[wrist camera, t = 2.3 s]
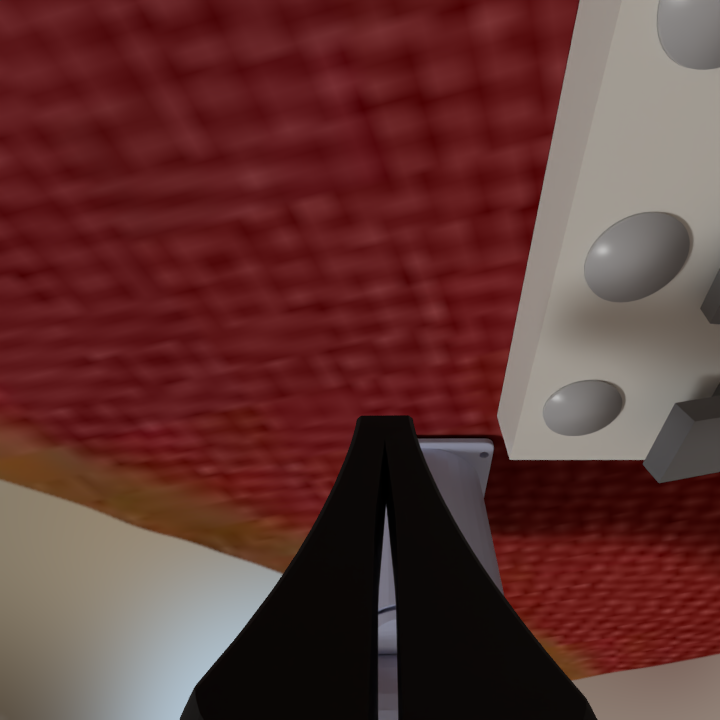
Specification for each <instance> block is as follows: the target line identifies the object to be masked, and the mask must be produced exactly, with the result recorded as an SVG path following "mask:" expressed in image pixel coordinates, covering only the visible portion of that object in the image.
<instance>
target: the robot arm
mask: <svg viewBox="0 0 720 720" xmlns="http://www.w3.org/2000/svg"><path fill="white" fill-rule="evenodd" d="M493 451H494V445H493V442H492V441H491V440H490V439H486V438H443V439H418V438H417V435H416V432H415V428H414V424H413V419H412V418H411V417H410V416H360V417H359V418H358V419H357V422H356V427H355V431H354V435H353V438H352V441H351V444H350V447H349V450H348V453H347V455H346V458H345V461H344V463H343V465H342V468H341V470H340V472H339V475H338V477H337V479H336V482H335V484H334V486H333V488H332V490H331V492H330V494H329V496H328V498H327V500H326V502H325V504H324V506H323V508H322V510H321V512H320V514H319V516H318V518H317V520H316V522H315V523H314V525H313V527H312V529H311V530H310V532H309V534H308V536H307V537H306V539H305V541H304V542H303V544H302V546H301V547H300V549H299V551H298V552H297V554H296V555H295V557H294V558H293V560H292V561H291V563H290V564H289V566H288V568H287V569H286V571H285V572H284V574H283V575H282V577H281V578H280V580H279V581H278V582H277V584H276V586H275V587H274V588H273V590H272V591H271V592H270V594H269V595H268V597H267V598H266V599H265V601H264V602H263V603H262V604H261V606H260V607H259V609H258V610H257V611H256V612H255V614H254V615H253V616H252V618H251V619H250V620H249V622H248V623H247V625H246V626H245V627H244V628H243V630H242V631H241V632H240V633H239V635H238V636H237V637H236V638H235V640H234V641H233V642H232V643H231V644H230V646H229V647H228V648H227V649H226V650H225V651H224V653H223V654H222V655H221V656H220V657H219V659H218V660H217V661H216V662H215V663H214V665H213V666H212V667H211V668H210V669H209V670H208V672H207V673H206V674H205V675H204V676H203V677H202V679H201V680H200V681H199V682H198V683H197V685H196V686H195V688H194V690H193V692H192V694H191V696H190V698H189V700H188V702H187V704H186V706H185V708H184V711H183V713H182V715H181V717H180V720H597V718H596V716H595V714H594V712H593V710H592V708H591V706H590V705H589V703H588V701H587V699H586V698H585V696H584V695H583V694H582V693H581V692H580V691H579V690H578V688H577V687H576V686H575V685H574V684H573V682H572V681H571V680H570V679H569V678H568V677H567V675H566V674H565V673H564V672H563V671H562V670H561V668H560V667H559V666H558V665H557V664H556V662H555V661H554V660H553V659H552V658H551V656H550V655H549V654H548V653H547V652H546V650H545V649H544V648H543V647H542V645H541V644H540V643H539V642H538V640H537V639H536V638H535V637H534V635H533V634H532V633H531V632H530V630H529V629H528V628H527V627H526V625H525V624H524V623H523V622H522V620H521V619H520V617H519V616H518V615H517V613H516V612H515V611H514V609H513V608H512V607H511V605H510V604H509V602H508V601H507V600H506V598H505V597H504V593H503V588H502V583H501V579H500V574H499V569H498V564H497V560H496V555H495V550H494V545H493V541H492V536H491V531H490V526H489V522H488V517H487V512H486V507H485V503H484V495H485V490H486V485H487V480H488V476H489V471H490V466H491V461H492V456H493ZM482 452H484V453H482Z"/></svg>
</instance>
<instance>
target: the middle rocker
mask: <svg viewBox="0 0 720 720" xmlns="http://www.w3.org/2000/svg"><path fill="white" fill-rule="evenodd" d="M700 309H701V311H702V312H703V314H704V315H705V317H706V318H707V320H708V321H709V323H710V324H720V269H719V271H718V273H717V275H716V277H715V279H714V281H713V283H712V285H711V287H710V289H709V291H708V293H707V295H706V297H705V299H704V301H703V303H702V305H701V307H700Z"/></svg>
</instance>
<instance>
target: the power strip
mask: <svg viewBox="0 0 720 720" xmlns="http://www.w3.org/2000/svg"><path fill="white" fill-rule="evenodd" d="M719 269H720V0H580V2H579V7H578V12H577V17H576V22H575V27H574V32H573V37H572V42H571V47H570V52H569V57H568V62H567V67H566V72H565V77H564V82H563V87H562V92H561V97H560V102H559V107H558V112H557V117H556V122H555V127H554V132H553V137H552V142H551V148H550V153H549V158H548V163H547V168H546V173H545V178H544V183H543V188H542V193H541V198H540V203H539V208H538V213H537V218H536V223H535V228H534V233H533V238H532V243H531V248H530V253H529V258H528V263H527V268H526V273H525V278H524V283H523V288H522V293H521V298H520V303H519V308H518V313H517V319H516V324H515V329H514V334H513V339H512V344H511V349H510V354H509V359H508V364H507V369H506V374H505V379H504V384H503V389H502V394H501V399H500V404H499V409H498V414H497V417H498V421H499V424H500V428H501V431H502V435H503V438H504V442H505V445H506V449H507V452H508V456H509V459H510V460H645V459H646V457H647V455H648V453H649V451H650V449H651V447H652V445H653V444H654V442H655V440H656V438H657V436H658V434H659V432H660V430H661V428H662V427H663V425H664V423H665V421H666V419H667V417H668V415H669V413H670V412H671V410H672V408H673V406H674V404H675V403H678V402H684V401H690V400H696V399H702V398H708V397H714V396H720V324H710V323H709V321H708V320H707V318H706V317H705V315H704V314H703V312H702V311H701V309H700V307H701V305H702V303H703V301H704V299H705V297H706V295H707V293H708V291H709V289H710V287H711V285H712V283H713V281H714V279H715V277H716V275H717V273H718V271H719Z"/></svg>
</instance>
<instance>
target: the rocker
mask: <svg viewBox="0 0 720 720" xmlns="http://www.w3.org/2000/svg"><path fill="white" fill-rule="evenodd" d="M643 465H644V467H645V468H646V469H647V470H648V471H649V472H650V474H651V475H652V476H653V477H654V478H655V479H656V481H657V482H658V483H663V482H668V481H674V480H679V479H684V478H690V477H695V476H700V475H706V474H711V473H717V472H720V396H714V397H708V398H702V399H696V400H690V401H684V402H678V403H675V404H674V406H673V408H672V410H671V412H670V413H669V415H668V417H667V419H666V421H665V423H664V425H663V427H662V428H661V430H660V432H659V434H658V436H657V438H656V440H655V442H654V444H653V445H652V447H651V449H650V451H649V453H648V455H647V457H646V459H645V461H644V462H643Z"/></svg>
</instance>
